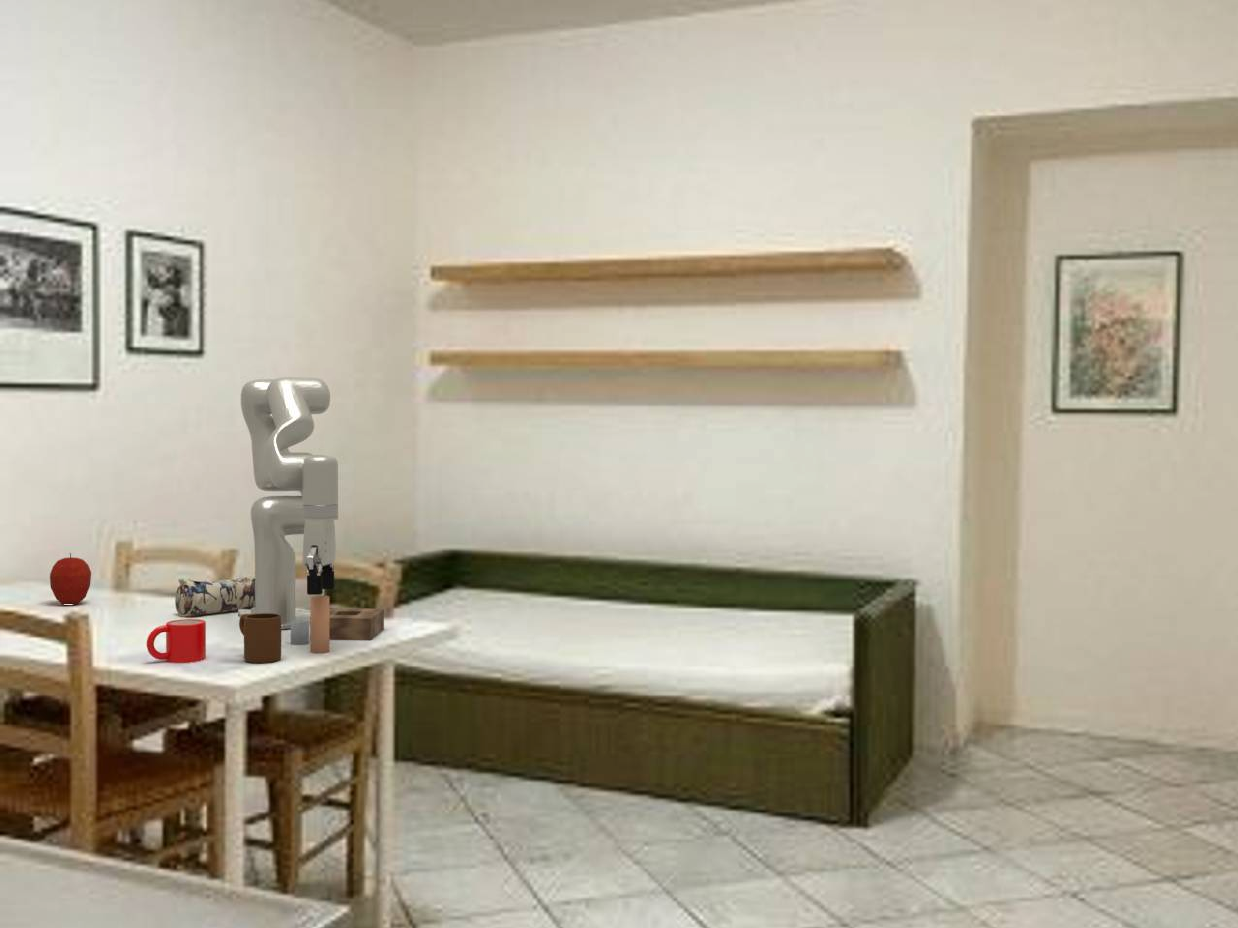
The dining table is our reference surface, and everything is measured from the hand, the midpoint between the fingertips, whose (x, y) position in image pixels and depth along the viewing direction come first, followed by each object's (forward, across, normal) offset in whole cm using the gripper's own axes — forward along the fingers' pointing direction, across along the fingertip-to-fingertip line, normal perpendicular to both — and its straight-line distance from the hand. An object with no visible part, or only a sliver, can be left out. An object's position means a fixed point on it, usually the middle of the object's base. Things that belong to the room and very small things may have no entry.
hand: (320, 591), depth 268 cm
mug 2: (+14, +8, -12) cm, 20 cm away
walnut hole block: (+13, -22, 0) cm, 25 cm away
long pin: (+13, -1, 0) cm, 13 cm away
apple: (+11, -58, -82) cm, 101 cm away
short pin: (+13, -10, -8) cm, 18 cm away
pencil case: (+12, -50, -40) cm, 65 cm away
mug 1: (+13, +11, -28) cm, 33 cm away
